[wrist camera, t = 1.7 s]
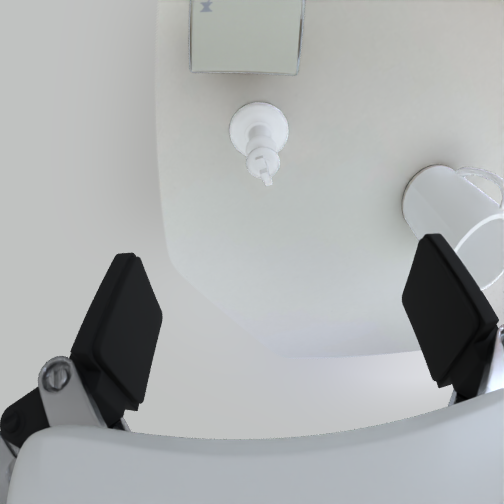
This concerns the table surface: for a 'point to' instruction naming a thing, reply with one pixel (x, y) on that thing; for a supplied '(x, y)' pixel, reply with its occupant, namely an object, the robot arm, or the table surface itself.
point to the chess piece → (259, 138)
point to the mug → (459, 217)
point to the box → (246, 36)
